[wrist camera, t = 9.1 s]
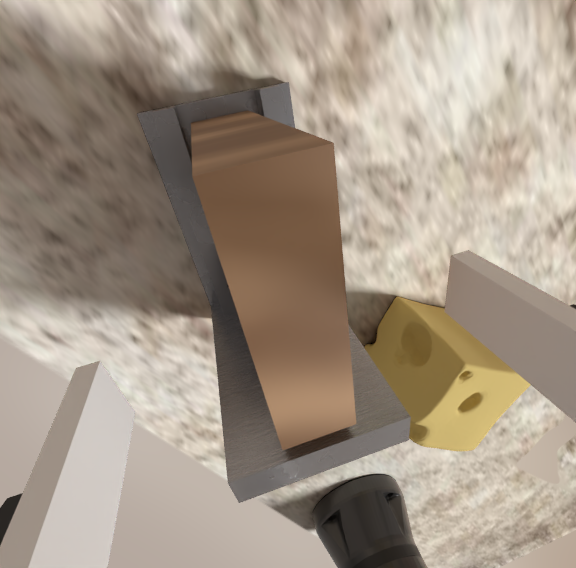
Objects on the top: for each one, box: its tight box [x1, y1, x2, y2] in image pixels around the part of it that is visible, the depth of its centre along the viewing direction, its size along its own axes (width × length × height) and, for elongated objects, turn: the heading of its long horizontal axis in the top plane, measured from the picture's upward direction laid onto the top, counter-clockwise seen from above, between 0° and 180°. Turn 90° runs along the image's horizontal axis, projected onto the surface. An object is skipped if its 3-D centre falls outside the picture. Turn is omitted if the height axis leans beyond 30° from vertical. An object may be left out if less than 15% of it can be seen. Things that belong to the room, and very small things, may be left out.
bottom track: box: [137, 82, 411, 503], centre depth 18 cm, size 16×9×15 cm, turn 10°
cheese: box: [364, 297, 531, 451], centre depth 31 cm, size 10×11×10 cm
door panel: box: [191, 110, 356, 450], centre depth 17 cm, size 12×4×14 cm, turn 10°
